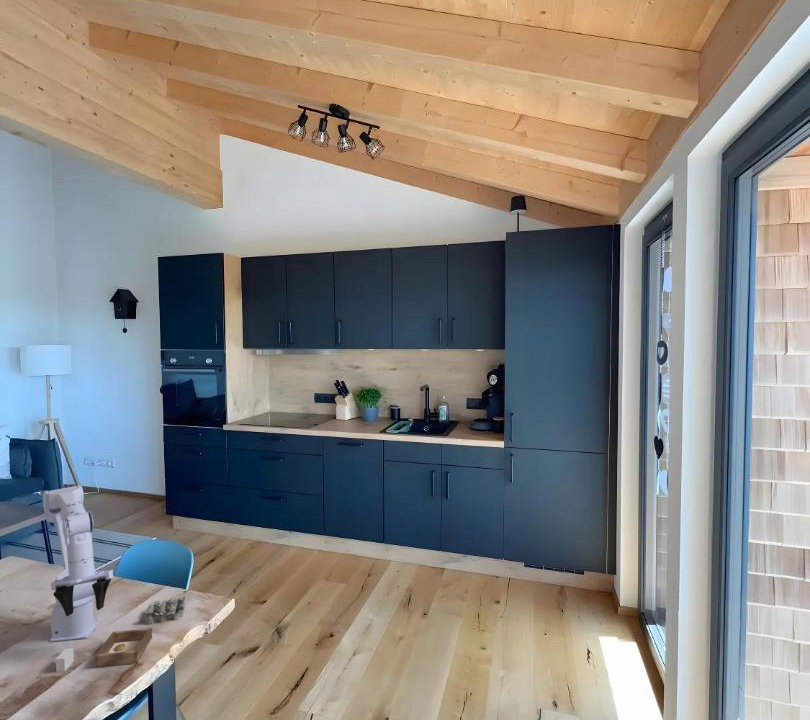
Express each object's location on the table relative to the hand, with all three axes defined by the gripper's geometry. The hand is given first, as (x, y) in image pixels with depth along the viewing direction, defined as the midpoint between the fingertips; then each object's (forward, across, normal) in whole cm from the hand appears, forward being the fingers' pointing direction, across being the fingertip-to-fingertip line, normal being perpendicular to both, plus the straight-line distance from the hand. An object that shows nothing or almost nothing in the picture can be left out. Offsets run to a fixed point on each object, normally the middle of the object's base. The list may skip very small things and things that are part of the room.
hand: (85, 611), depth 124 cm
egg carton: (+11, +14, +16) cm, 23 cm away
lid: (+12, -4, -3) cm, 13 cm away
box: (+12, +9, 0) cm, 15 cm away
